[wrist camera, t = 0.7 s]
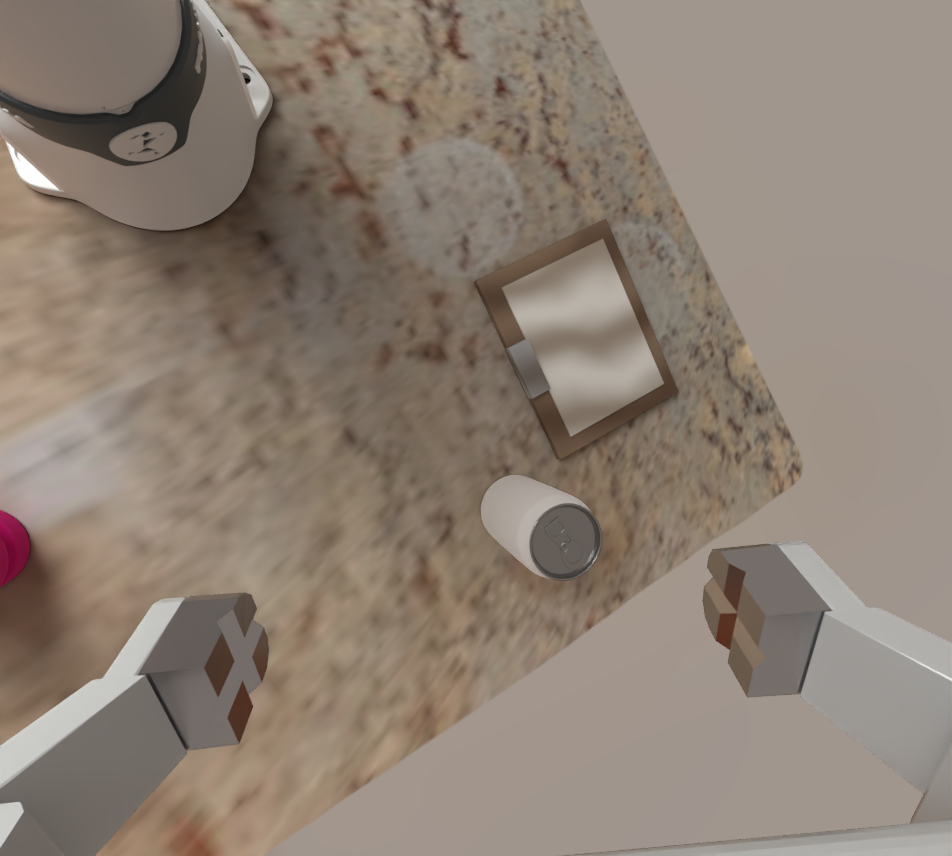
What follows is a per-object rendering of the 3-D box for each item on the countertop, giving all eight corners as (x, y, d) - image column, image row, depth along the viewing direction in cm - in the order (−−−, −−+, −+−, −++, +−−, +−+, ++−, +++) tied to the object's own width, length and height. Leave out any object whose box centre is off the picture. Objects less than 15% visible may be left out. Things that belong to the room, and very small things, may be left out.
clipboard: (472, 283, 47) (476, 279, 46) (601, 221, 50) (609, 216, 49) (555, 459, 50) (562, 461, 49) (673, 392, 53) (682, 391, 52)
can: (505, 556, 50) (557, 605, 38) (465, 503, 48) (506, 537, 37) (557, 512, 51) (623, 546, 39) (519, 459, 49) (575, 479, 38)
